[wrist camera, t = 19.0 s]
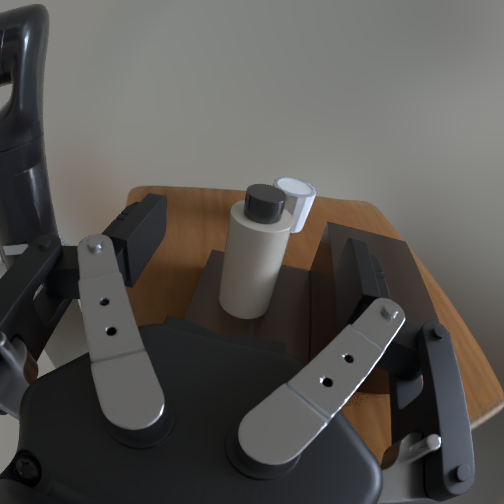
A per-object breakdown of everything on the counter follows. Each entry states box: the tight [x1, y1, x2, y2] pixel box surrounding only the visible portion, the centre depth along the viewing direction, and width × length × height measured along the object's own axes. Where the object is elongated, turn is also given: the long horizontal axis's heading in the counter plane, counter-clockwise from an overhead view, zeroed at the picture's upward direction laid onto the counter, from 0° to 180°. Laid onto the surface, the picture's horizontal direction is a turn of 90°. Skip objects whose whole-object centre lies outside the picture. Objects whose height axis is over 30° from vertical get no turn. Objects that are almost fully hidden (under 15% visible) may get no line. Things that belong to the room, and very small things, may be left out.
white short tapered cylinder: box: [273, 177, 316, 233], centre depth 48 cm, size 7×7×7 cm
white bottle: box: [219, 184, 293, 319], centre depth 27 cm, size 5×5×12 cm
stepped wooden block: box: [184, 222, 440, 394], centre depth 29 cm, size 22×14×10 cm, turn 82°
